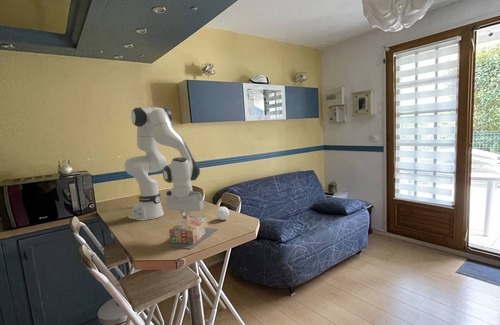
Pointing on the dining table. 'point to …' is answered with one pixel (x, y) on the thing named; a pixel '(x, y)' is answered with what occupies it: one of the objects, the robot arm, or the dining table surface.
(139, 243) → the dining table surface
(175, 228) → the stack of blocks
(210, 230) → the mat
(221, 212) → the geometric ball
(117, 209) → the dining table surface
